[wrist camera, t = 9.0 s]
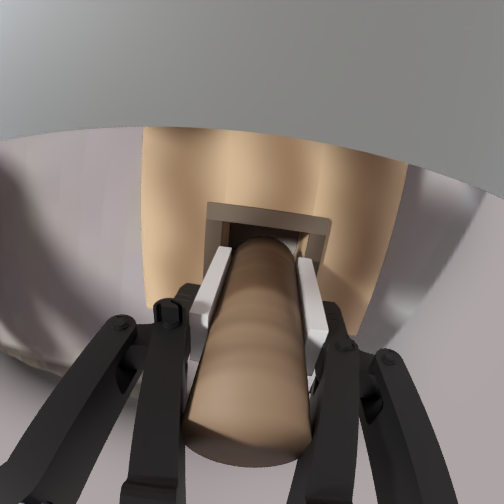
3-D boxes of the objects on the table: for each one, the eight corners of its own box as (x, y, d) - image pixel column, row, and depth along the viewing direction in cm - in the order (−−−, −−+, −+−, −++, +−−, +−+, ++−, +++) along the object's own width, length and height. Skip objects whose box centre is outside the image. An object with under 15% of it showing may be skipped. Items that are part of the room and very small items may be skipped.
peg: (234, 232, 17) (173, 399, 6) (299, 241, 17) (330, 417, 6) (229, 288, 19) (183, 457, 8) (288, 296, 19) (294, 470, 8)
